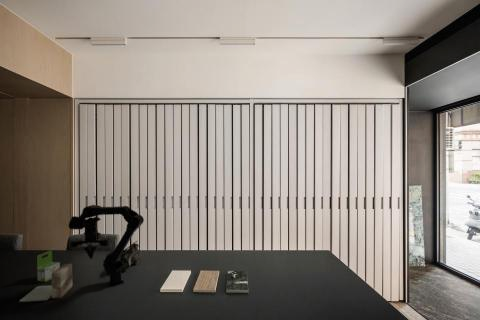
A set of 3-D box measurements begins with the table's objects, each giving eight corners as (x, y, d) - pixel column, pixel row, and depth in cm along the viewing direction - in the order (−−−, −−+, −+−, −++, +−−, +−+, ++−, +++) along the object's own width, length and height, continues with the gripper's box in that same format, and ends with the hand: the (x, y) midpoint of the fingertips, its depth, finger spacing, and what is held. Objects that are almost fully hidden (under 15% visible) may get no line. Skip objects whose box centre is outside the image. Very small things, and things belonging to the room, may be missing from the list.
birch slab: (72, 286, 152) (71, 263, 152) (61, 298, 141) (60, 273, 140) (64, 287, 152) (63, 264, 152) (52, 298, 140) (51, 273, 140)
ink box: (45, 282, 158) (44, 256, 158) (36, 281, 159) (36, 256, 159) (60, 274, 168) (59, 250, 168) (52, 273, 169) (51, 249, 169)
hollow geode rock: (119, 282, 167) (136, 264, 166) (102, 267, 167) (120, 248, 166) (138, 262, 195) (153, 246, 194) (123, 249, 195) (138, 233, 194)
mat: (62, 285, 153) (62, 284, 153) (47, 300, 138) (46, 298, 138) (37, 287, 152) (37, 286, 152) (19, 302, 137) (19, 300, 137)
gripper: (113, 225, 165) (114, 252, 166) (78, 226, 163) (79, 254, 163) (107, 230, 154) (107, 259, 154) (69, 231, 152) (70, 261, 152)
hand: (91, 258), depth 156 cm, fingers closed
